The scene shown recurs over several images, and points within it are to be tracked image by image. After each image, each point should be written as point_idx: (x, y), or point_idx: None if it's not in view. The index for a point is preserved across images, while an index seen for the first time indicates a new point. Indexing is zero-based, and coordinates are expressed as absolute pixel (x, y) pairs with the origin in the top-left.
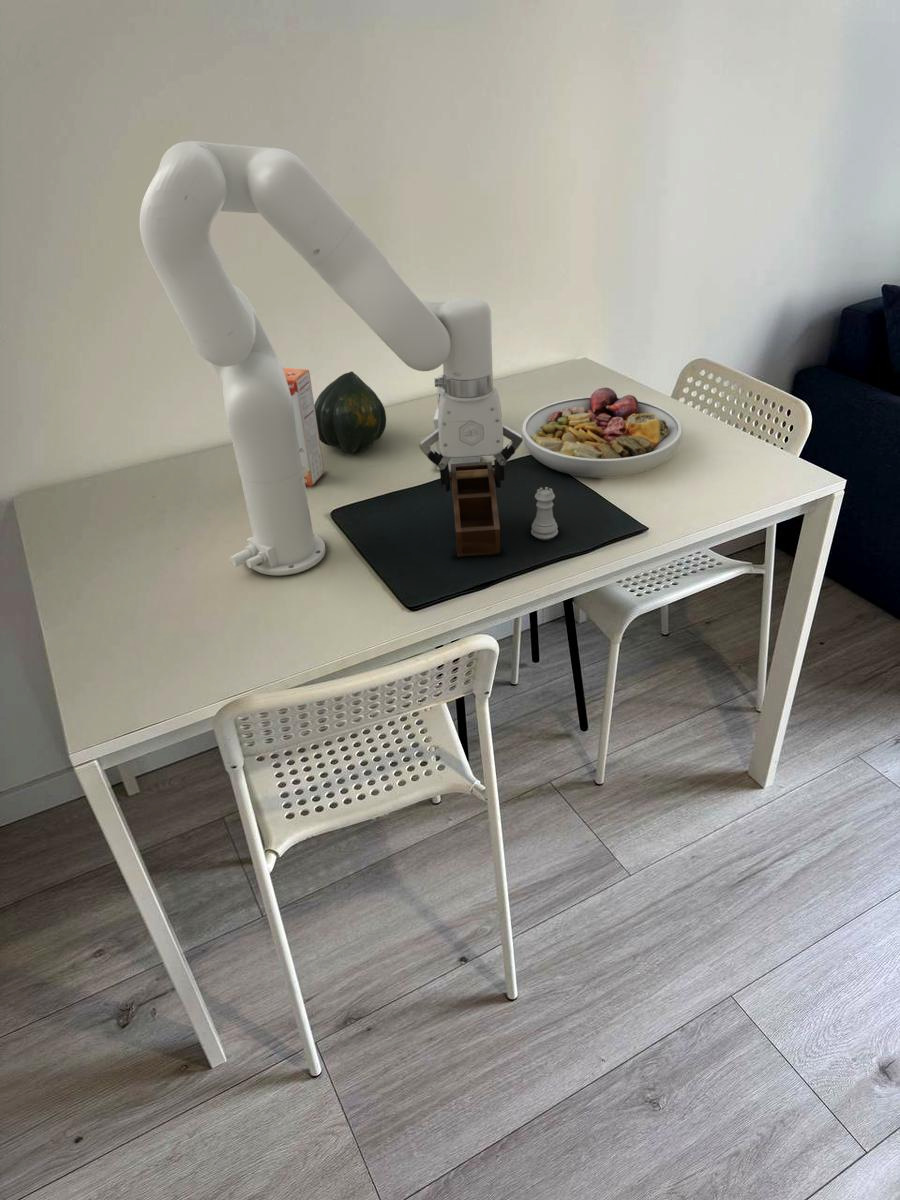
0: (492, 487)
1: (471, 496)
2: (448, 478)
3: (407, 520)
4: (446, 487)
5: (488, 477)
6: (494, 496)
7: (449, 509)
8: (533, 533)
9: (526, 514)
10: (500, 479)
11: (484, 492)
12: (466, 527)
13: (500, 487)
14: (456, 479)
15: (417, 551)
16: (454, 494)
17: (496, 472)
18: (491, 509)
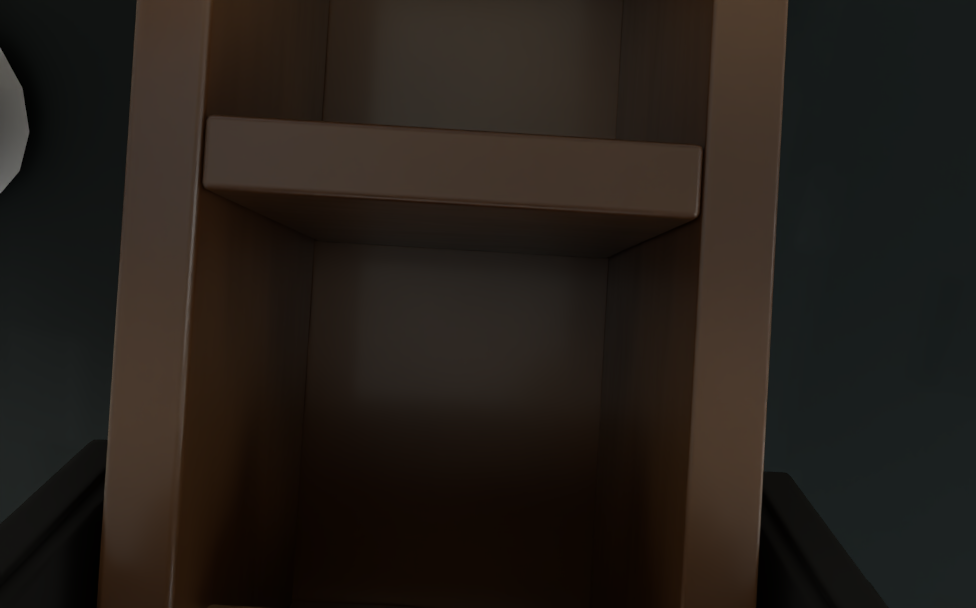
0: (154, 293)
1: (503, 146)
2: (811, 587)
3: (914, 486)
4: (794, 498)
5: (198, 561)
6: (152, 99)
7: None
8: (2, 77)
9: (77, 413)
10: (32, 498)
11: (329, 543)
12: (556, 125)
13: (102, 440)
14: (689, 546)
15: (957, 31)
16: (757, 228)
17: (17, 580)
18: (268, 88)
